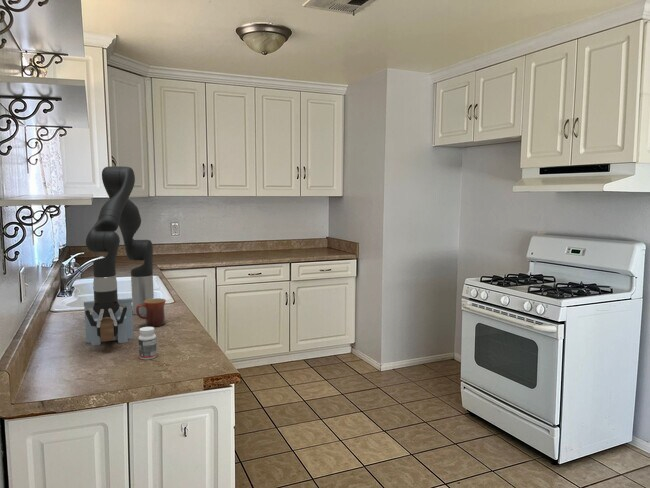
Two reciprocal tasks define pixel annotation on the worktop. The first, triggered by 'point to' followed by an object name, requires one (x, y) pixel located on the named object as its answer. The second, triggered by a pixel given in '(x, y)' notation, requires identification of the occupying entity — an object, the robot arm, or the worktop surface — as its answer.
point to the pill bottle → (147, 343)
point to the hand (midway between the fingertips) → (107, 336)
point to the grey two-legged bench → (123, 329)
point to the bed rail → (107, 329)
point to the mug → (153, 312)
